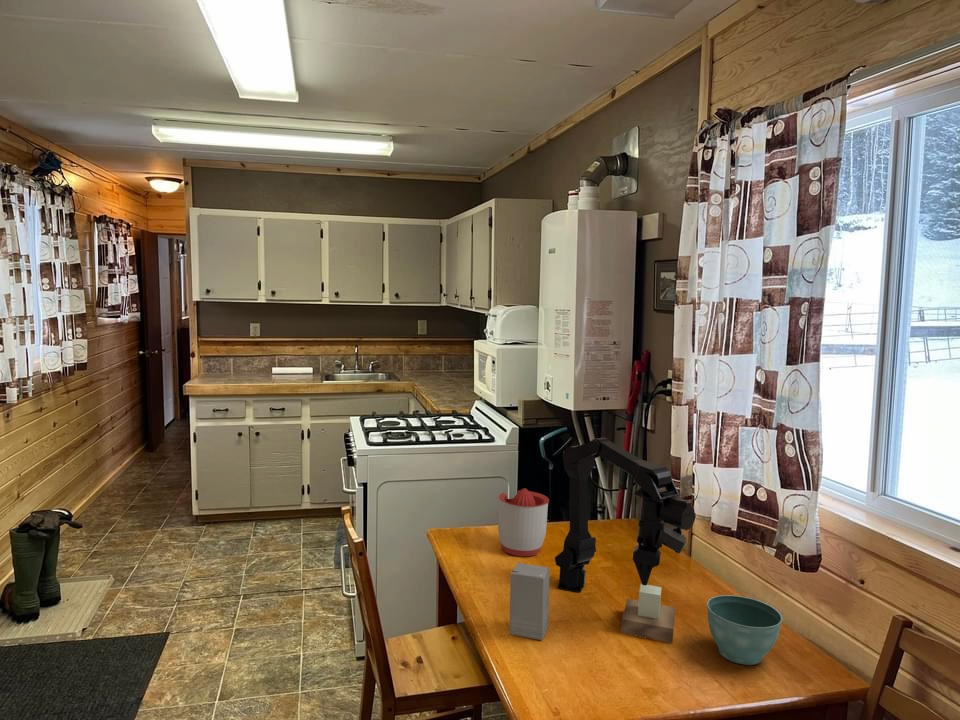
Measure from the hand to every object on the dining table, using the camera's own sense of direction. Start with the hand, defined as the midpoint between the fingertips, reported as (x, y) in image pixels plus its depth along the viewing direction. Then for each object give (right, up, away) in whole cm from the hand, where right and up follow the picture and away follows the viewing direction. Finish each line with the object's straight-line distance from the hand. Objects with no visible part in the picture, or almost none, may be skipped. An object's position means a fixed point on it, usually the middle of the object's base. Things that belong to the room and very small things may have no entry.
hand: (645, 577), depth 170 cm
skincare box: (-30, -11, -7) cm, 33 cm away
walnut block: (0, -12, -1) cm, 12 cm away
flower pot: (+19, -14, -12) cm, 26 cm away
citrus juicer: (-29, -6, +45) cm, 54 cm away
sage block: (0, -8, -1) cm, 8 cm away
